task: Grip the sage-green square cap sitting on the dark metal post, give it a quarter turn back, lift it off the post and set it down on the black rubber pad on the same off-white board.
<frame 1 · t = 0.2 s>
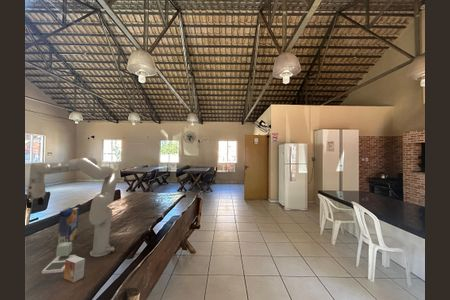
hand: (34, 206, 140), 31 cm above the table, tool pointing down, fingers open, 9 cm apart
juice carton: (67, 241, 160), on the table
cap: (64, 253, 131), point 4 cm above the table, touching post board
post board: (60, 264, 127), on the table
small box: (73, 278, 114), on the table
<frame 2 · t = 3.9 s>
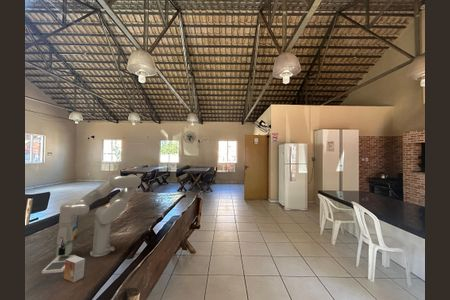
hand: (64, 252, 131), 6 cm above the table, tool pointing down, fingers closed on cap, 6 cm apart
cap: (64, 253, 131), point 5 cm above the table, touching gripper, post board
everything else where it was.
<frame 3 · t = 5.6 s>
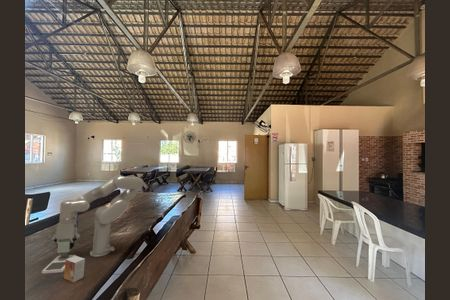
hand: (65, 248, 131), 8 cm above the table, tool pointing down, fingers closed on cap, 6 cm apart
cap: (65, 250, 131), point 7 cm above the table, touching gripper
everything else where it was.
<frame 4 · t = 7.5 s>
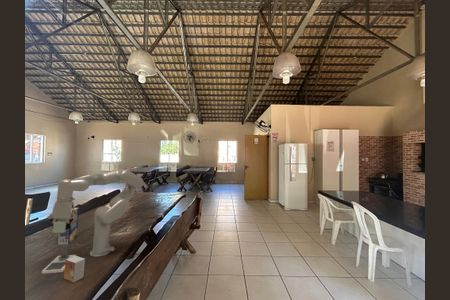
hand: (61, 229, 126), 22 cm above the table, tool pointing down, fingers closed on cap, 6 cm apart
cap: (61, 231, 126), point 21 cm above the table, touching gripper
everything else where it was.
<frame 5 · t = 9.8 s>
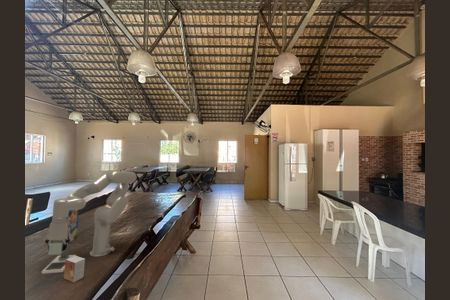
hand: (57, 250, 122), 11 cm above the table, tool pointing down, fingers closed on cap, 6 cm apart
cap: (56, 252, 122), point 10 cm above the table, touching gripper
everything else where it was.
when the fingers open (4 cm above the table, at t = 11.6 s): cap drops 1 cm, resting on post board.
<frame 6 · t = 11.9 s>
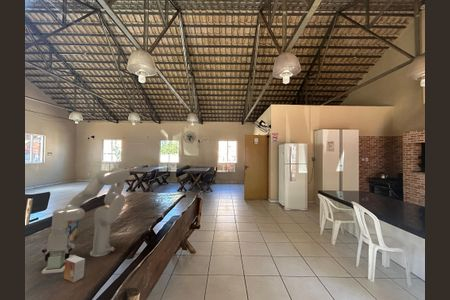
hand: (57, 259, 123), 5 cm above the table, tool pointing down, fingers open, 9 cm apart
cap: (56, 265, 122), point 2 cm above the table, touching post board
everything else where it was.
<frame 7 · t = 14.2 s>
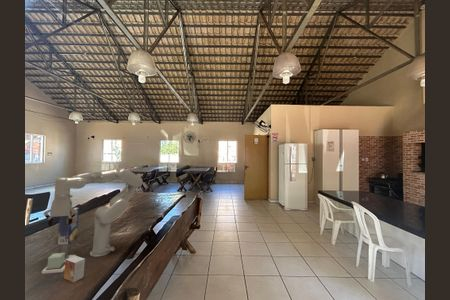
hand: (60, 225, 128), 24 cm above the table, tool pointing down, fingers open, 9 cm apart
nothing on the table moved.
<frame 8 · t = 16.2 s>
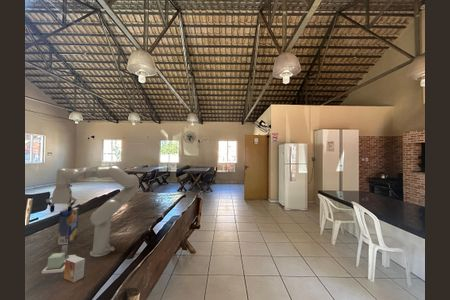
hand: (60, 211, 139), 28 cm above the table, tool pointing down, fingers open, 9 cm apart
nothing on the table moved.
at the end: cap 0.3 cm from the target spot, point 1.8 cm above the table; cap tilted 0°; the gripper is holding nothing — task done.
